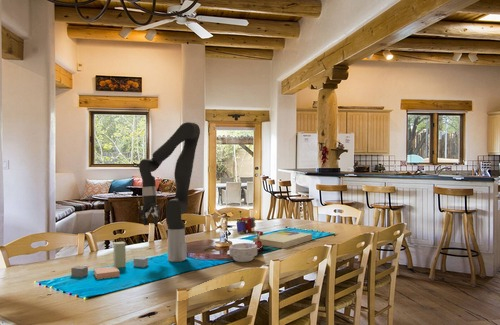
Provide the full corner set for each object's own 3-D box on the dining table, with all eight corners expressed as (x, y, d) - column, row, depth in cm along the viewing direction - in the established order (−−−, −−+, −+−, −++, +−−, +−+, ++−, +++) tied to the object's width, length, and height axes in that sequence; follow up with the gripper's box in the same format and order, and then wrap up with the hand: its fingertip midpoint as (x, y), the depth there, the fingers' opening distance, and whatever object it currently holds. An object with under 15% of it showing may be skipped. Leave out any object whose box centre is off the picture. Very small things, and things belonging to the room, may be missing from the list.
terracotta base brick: (115, 272, 202) (115, 266, 202) (119, 277, 193) (119, 271, 193) (94, 274, 197) (94, 268, 197) (96, 280, 188) (96, 273, 188)
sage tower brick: (123, 264, 215) (123, 241, 215) (125, 266, 210) (125, 243, 210) (113, 265, 212) (113, 242, 212) (115, 267, 208) (115, 244, 208)
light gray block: (148, 265, 213) (148, 257, 213) (144, 267, 209) (143, 259, 209) (137, 264, 215) (137, 256, 215) (133, 266, 211) (133, 258, 211)
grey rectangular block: (87, 275, 196) (87, 266, 196) (82, 277, 192) (82, 268, 192) (77, 274, 197) (77, 265, 197) (71, 276, 194) (71, 267, 193)
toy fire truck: (253, 251, 245) (253, 234, 245) (258, 246, 259) (258, 230, 259) (259, 251, 245) (259, 235, 244) (263, 246, 258) (263, 231, 258)
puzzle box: (252, 244, 266) (283, 249, 251) (252, 237, 266) (283, 242, 251) (284, 236, 294) (313, 240, 279) (284, 230, 294) (313, 233, 279)
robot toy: (233, 234, 306) (251, 228, 320) (241, 235, 300) (260, 229, 314) (231, 211, 305) (249, 206, 319) (240, 212, 298) (258, 207, 313)
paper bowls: (223, 261, 221) (223, 246, 221) (239, 255, 233) (239, 241, 233) (247, 265, 212) (247, 249, 212) (262, 259, 225) (262, 244, 225)
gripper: (146, 194, 219) (148, 225, 218) (162, 194, 232) (164, 223, 231) (135, 195, 222) (136, 226, 221) (152, 195, 235) (153, 223, 234)
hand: (150, 224), depth 226 cm, fingers open, 8 cm apart
